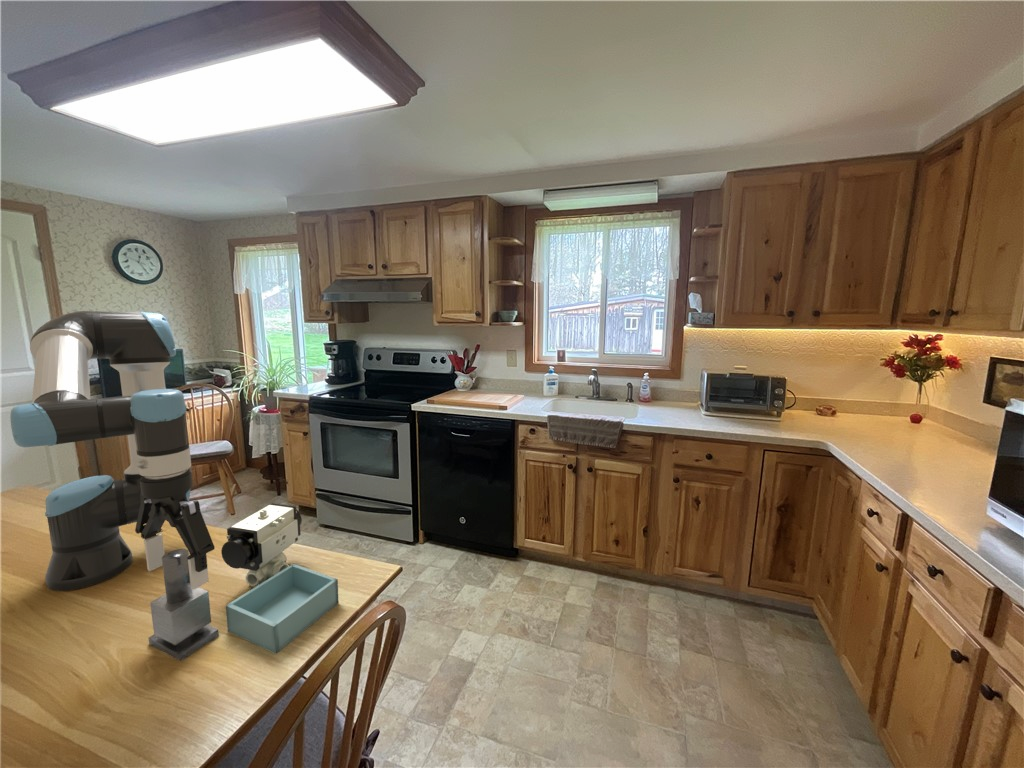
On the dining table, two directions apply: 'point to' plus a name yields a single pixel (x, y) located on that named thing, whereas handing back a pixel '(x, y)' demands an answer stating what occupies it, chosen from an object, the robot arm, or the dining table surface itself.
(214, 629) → the stud plate
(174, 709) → the dining table surface
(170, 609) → the block with domed cylinder
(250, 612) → the bin
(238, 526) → the ball valve
